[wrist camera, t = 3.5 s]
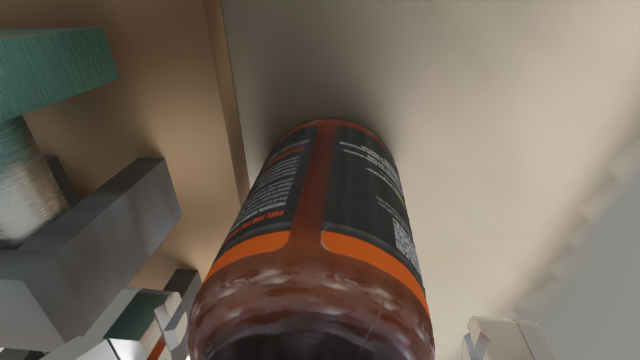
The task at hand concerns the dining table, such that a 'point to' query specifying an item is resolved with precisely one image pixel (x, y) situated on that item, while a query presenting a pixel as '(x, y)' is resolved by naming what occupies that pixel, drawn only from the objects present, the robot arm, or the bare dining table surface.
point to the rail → (128, 170)
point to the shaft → (33, 93)
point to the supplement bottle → (317, 259)
